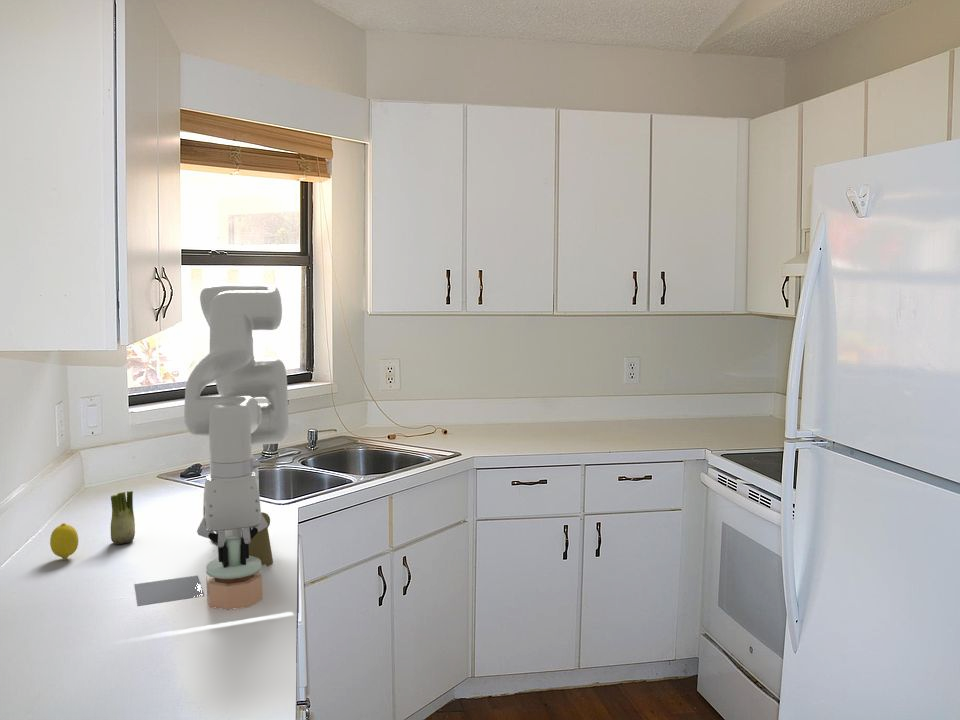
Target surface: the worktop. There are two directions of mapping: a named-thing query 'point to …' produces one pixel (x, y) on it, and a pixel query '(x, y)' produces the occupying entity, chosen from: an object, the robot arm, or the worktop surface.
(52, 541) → the lemon
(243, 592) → the bowl
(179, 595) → the mat
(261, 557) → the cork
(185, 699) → the worktop surface
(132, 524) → the fennel bulb
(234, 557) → the lid
